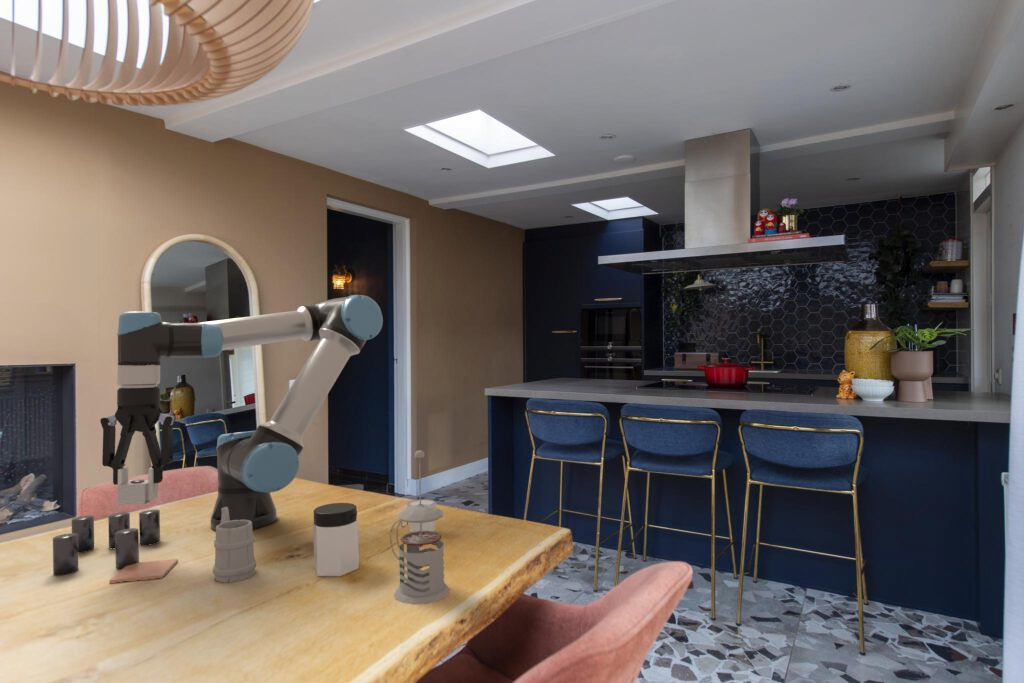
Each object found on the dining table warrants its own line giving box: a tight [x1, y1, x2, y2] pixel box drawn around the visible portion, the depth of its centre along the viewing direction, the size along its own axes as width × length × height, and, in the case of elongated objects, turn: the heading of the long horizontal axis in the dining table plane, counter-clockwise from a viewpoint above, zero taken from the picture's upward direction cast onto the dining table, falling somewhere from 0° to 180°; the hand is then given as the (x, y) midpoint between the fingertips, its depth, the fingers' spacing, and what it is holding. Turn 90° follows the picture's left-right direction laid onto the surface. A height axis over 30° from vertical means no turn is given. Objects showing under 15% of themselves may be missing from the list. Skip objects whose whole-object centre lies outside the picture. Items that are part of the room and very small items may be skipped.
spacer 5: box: [138, 509, 161, 546], centre depth 135 cm, size 4×4×7 cm
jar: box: [312, 502, 360, 577], centre depth 116 cm, size 9×8×12 cm
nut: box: [117, 478, 151, 506], centre depth 121 cm, size 5×5×4 cm
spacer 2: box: [71, 515, 95, 553], centre depth 131 cm, size 4×4×7 cm
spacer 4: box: [114, 527, 140, 570], centre depth 120 cm, size 4×4×7 cm
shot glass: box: [406, 499, 437, 533], centre depth 137 cm, size 7×7×7 cm
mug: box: [212, 507, 257, 583], centre depth 115 cm, size 8×12×12 cm, turn 42°
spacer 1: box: [52, 532, 79, 576], centre depth 118 cm, size 4×4×7 cm
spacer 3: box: [107, 511, 131, 550], centre depth 133 cm, size 4×4×7 cm
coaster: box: [109, 558, 179, 584], centre depth 116 cm, size 9×9×1 cm
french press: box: [389, 449, 451, 605], centre depth 105 cm, size 10×12×25 cm
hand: (137, 499), depth 121 cm, fingers closed on nut, 5 cm apart
